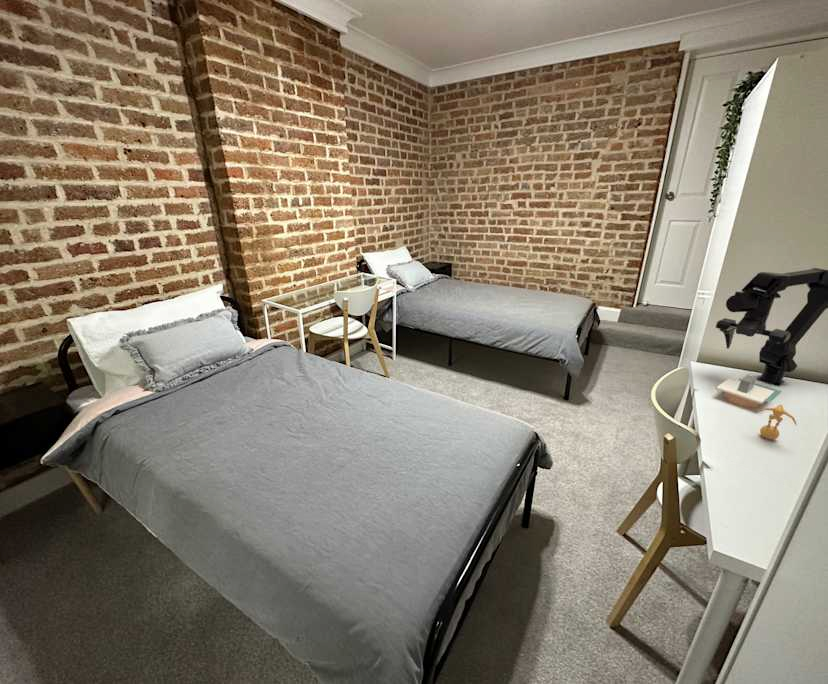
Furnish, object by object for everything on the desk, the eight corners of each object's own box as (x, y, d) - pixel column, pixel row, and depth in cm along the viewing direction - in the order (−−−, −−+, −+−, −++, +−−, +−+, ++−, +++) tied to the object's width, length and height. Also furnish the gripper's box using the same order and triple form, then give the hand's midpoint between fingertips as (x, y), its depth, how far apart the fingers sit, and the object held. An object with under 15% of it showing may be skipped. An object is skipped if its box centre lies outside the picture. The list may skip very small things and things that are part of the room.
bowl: (729, 391, 131) (733, 381, 129) (762, 402, 124) (766, 392, 122) (719, 399, 126) (723, 389, 125) (752, 411, 119) (756, 400, 118)
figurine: (787, 441, 105) (803, 405, 100) (785, 450, 101) (801, 413, 96) (749, 428, 110) (763, 394, 106) (746, 437, 107) (760, 401, 102)
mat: (739, 379, 139) (740, 378, 139) (781, 392, 129) (782, 391, 129) (727, 388, 133) (727, 387, 133) (770, 402, 123) (770, 401, 123)
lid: (729, 379, 131) (733, 367, 129) (773, 392, 122) (778, 380, 120) (716, 388, 125) (720, 376, 123) (761, 403, 116) (766, 391, 114)
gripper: (715, 308, 128) (703, 349, 134) (787, 322, 113) (770, 367, 119) (728, 302, 133) (716, 342, 139) (798, 315, 119) (781, 359, 125)
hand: (743, 352), depth 130 cm, fingers open, 9 cm apart
